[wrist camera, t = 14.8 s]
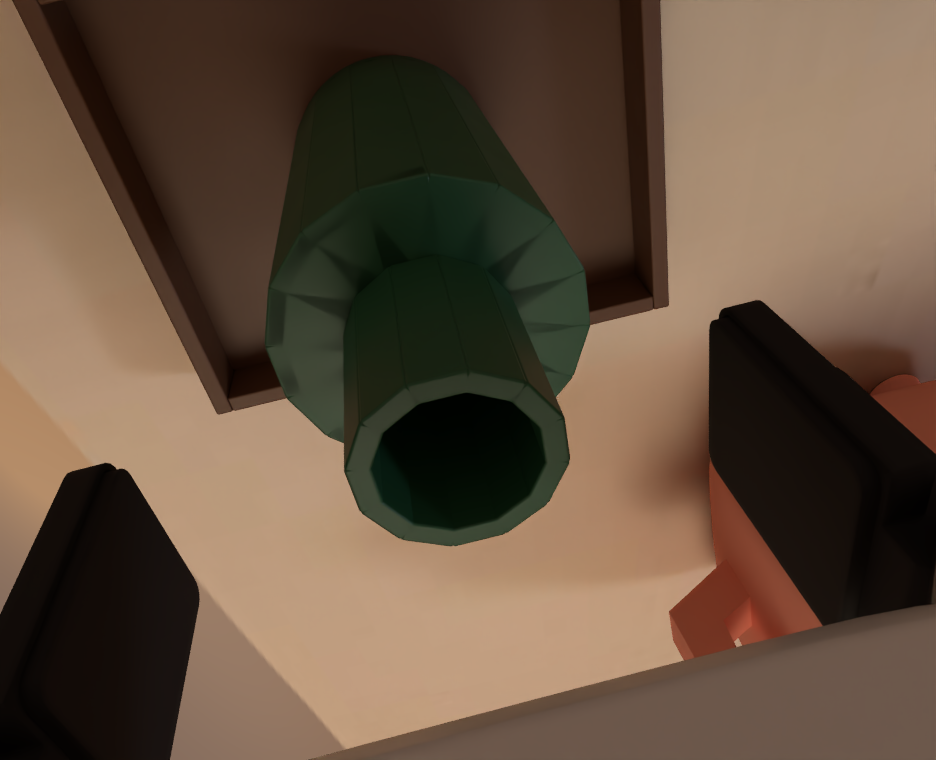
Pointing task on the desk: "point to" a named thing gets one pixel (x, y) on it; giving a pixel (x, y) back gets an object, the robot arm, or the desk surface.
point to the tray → (281, 110)
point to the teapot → (769, 554)
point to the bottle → (424, 305)
